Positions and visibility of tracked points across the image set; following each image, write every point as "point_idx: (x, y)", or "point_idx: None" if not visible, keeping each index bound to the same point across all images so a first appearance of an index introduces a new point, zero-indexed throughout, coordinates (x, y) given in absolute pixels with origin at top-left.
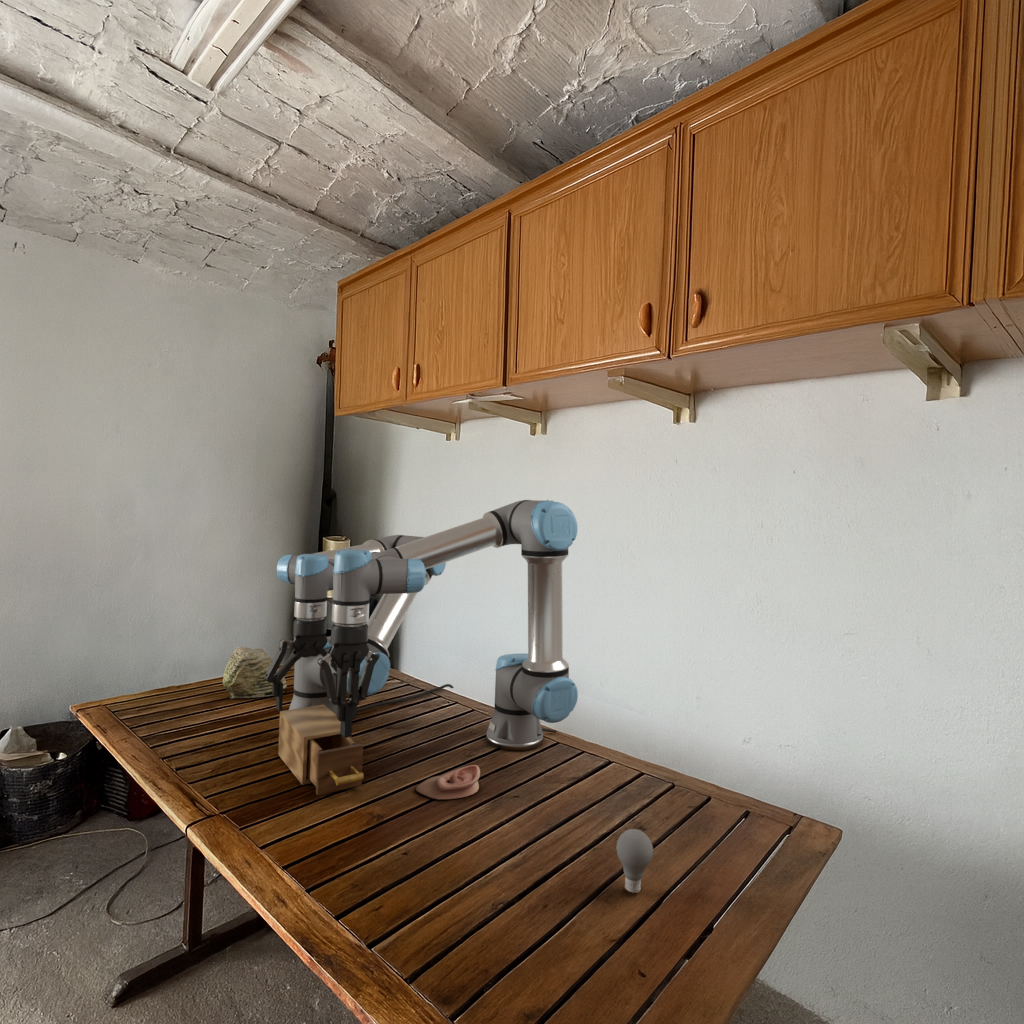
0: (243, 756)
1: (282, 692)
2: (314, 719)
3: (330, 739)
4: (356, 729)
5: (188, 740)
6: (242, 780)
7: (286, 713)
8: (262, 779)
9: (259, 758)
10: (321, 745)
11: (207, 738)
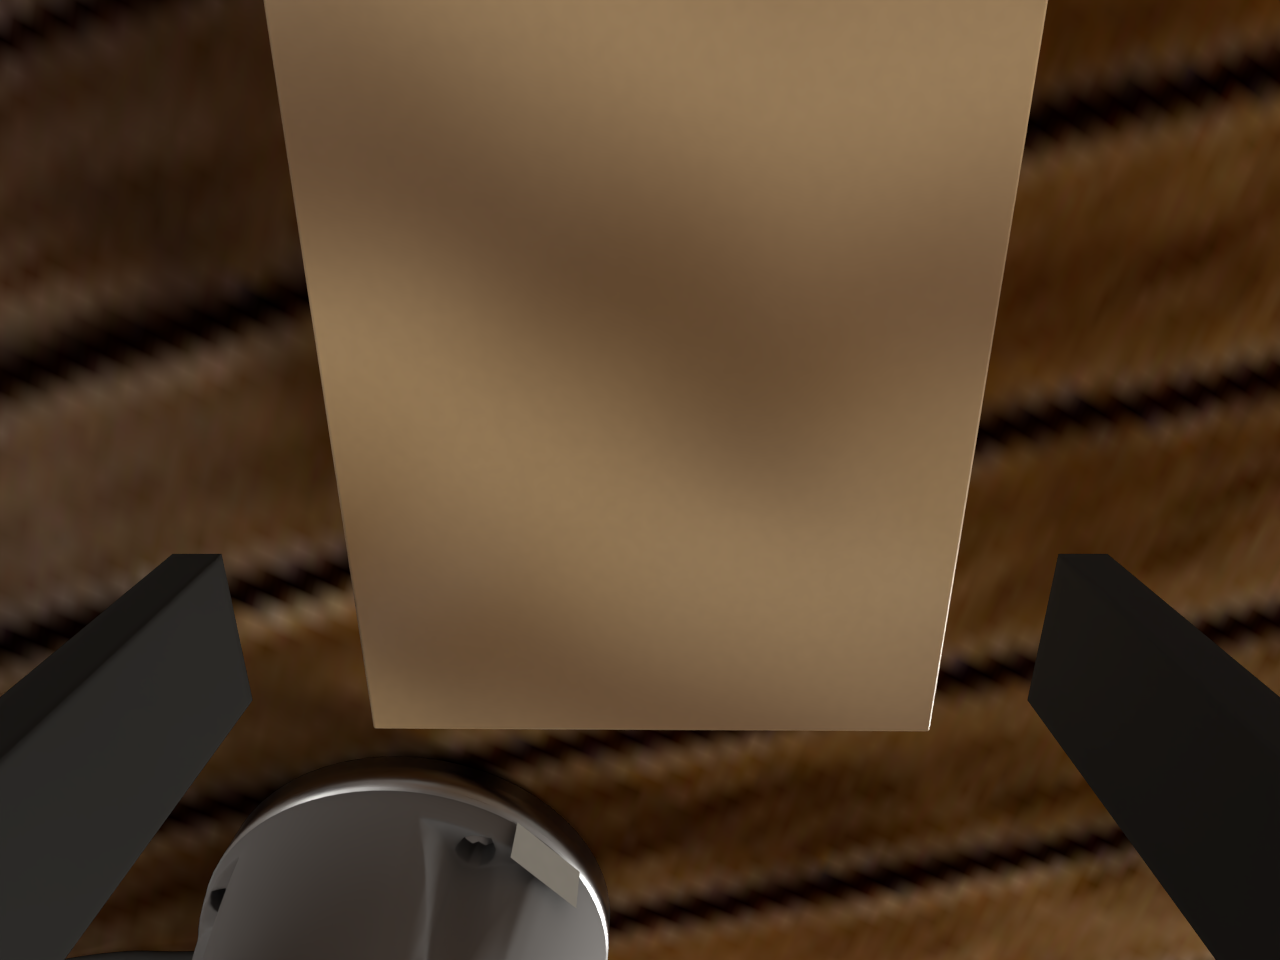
0: (1029, 598)
1: (1272, 745)
2: (658, 228)
3: None
4: None
5: (1186, 956)
6: (1231, 176)
7: (895, 631)
8: (1103, 110)
9: None
10: None
11: (1086, 940)
